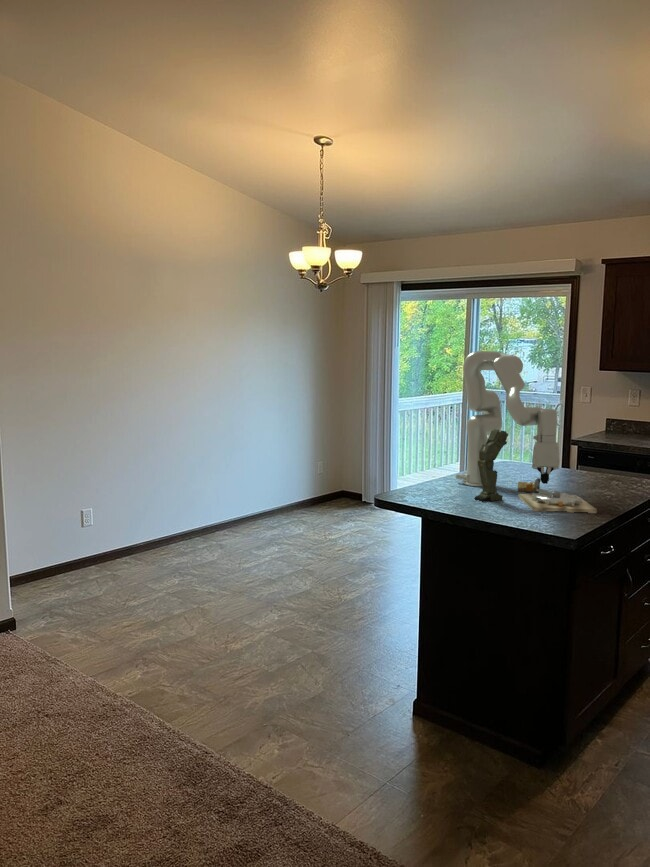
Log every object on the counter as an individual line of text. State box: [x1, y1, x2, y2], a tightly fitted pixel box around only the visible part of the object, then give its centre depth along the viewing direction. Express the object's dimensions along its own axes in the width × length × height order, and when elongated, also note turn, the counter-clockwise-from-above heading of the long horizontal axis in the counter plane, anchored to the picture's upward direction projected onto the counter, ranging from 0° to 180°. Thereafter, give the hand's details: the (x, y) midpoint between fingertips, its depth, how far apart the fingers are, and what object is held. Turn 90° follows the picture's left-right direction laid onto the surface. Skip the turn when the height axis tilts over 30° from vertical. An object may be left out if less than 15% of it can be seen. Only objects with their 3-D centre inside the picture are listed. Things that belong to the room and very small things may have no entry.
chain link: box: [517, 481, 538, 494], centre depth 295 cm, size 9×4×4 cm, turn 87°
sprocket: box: [531, 477, 583, 506], centre depth 271 cm, size 19×21×6 cm
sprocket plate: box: [518, 493, 598, 514], centre depth 271 cm, size 24×24×2 cm
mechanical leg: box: [473, 429, 509, 503], centre depth 277 cm, size 14×7×30 cm, turn 118°
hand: (544, 483), depth 281 cm, fingers closed
